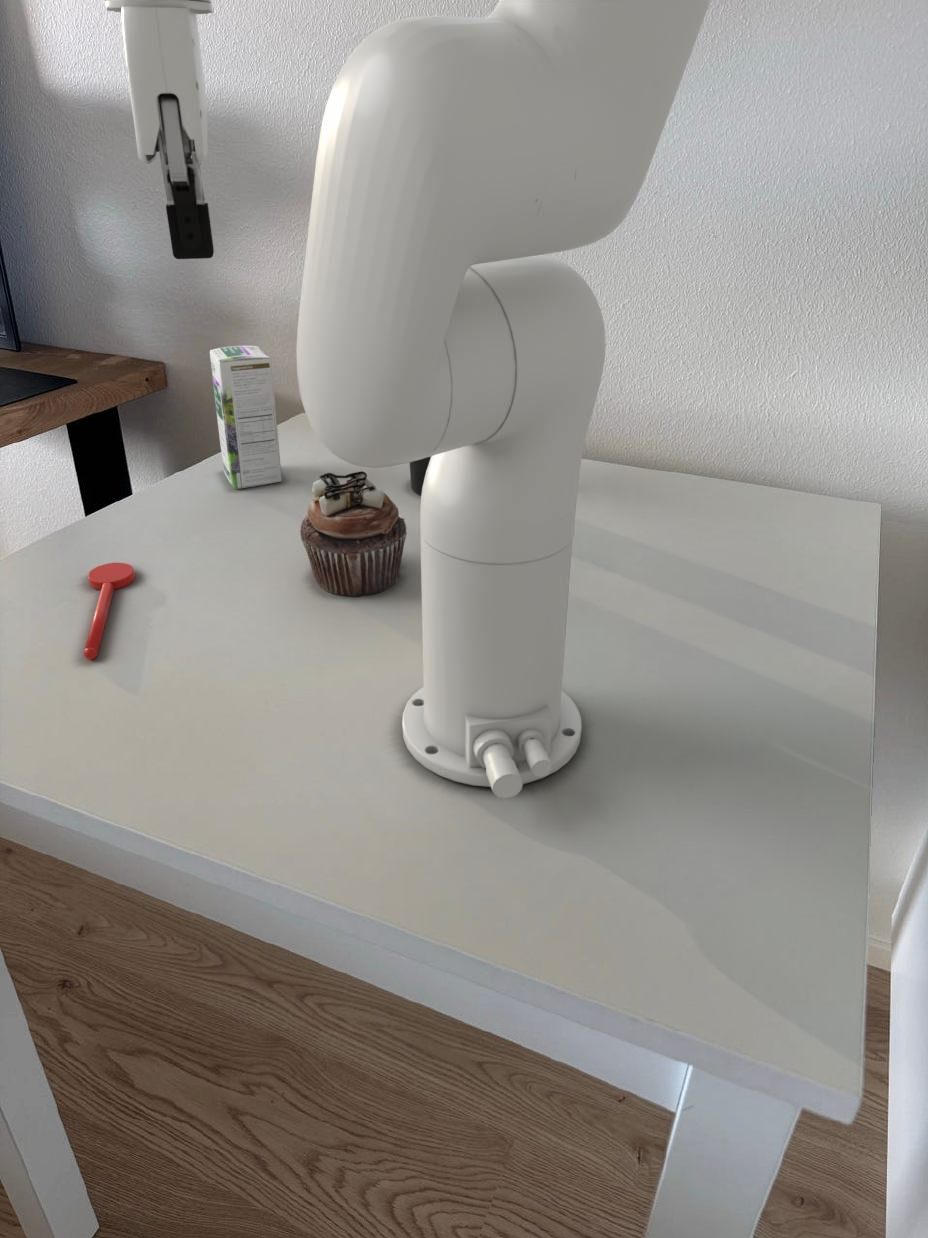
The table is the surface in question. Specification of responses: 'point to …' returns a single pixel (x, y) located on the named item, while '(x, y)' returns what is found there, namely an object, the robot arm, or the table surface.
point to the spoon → (105, 598)
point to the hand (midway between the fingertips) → (194, 256)
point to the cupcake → (353, 536)
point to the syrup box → (246, 415)
